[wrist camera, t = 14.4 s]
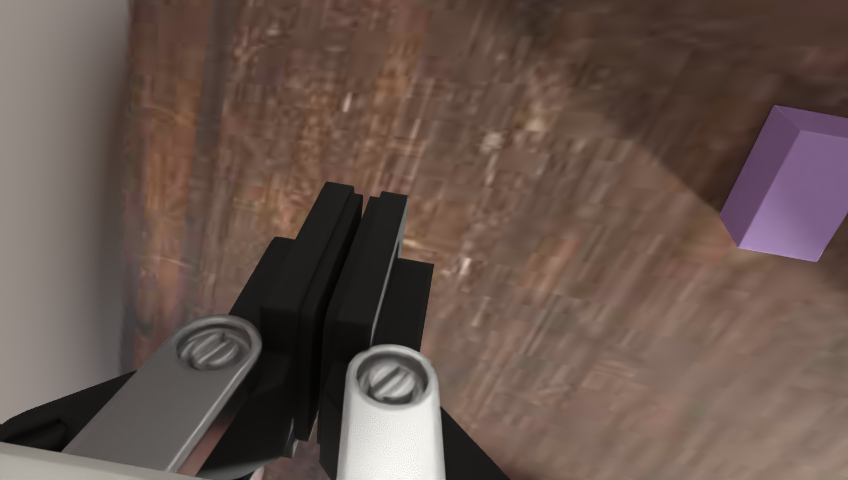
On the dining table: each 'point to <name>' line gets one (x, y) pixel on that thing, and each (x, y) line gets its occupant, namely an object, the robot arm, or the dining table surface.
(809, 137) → the block
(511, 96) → the dining table surface
